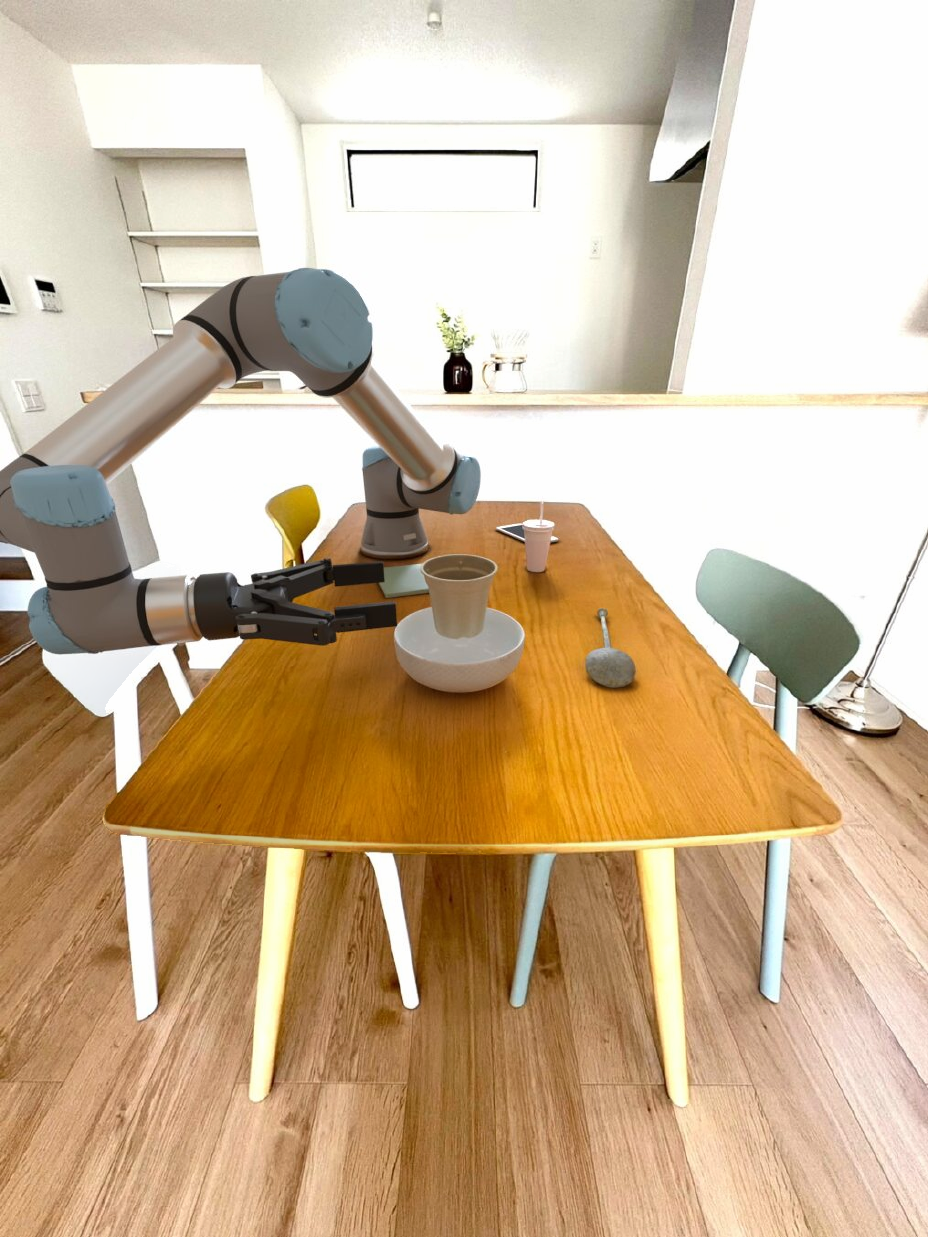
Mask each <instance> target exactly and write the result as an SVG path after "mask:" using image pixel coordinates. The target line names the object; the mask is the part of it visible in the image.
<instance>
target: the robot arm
mask: <svg viewBox="0 0 928 1237" xmlns="http://www.w3.org/2000/svg"><path fill="white" fill-rule="evenodd" d="M369 316H370V311H369V308H368V305H367V303H366V301H365V299H364V297H363V295H362V294H361V292H360V291H359V290H358V288H357V287H356V286H355V285H354V283H352V282H351V280H349V279H348V278H347V277H345V276H344V275H343V274H341V273H339V272H337V271H335V270H331V269H327V268H326V269H325V268H313V267H300V268H298V269H293V270H291V271H284V272H275V273H267V274H259V275H250V276H243V277H240V278H238V279H236V280H233V281H232V282H230V283H228V284H226V285H224V286H223V287H221V288H220V289H219V290H217V291H215V292H214V293H213V294H211V295H210V296H209V297H207V298H206V299H205V300H203V301H202V302H201V303H200V304H198V305H197V306H196V307H194V309H192V310H191V311H190V312H188V313H187V314H186V315H184V316H183V317H182V318H180V319H179V320H178V321H176V322H175V323H174V325H173V327H172V338H170V339H169V340H168V341H166V342H165V343H164V344H163V345H162V346H160V347H158V349H156V350H155V351H154V352H152V353H151V354H150V355H149V356H147V357H145V359H144V360H142V361H141V362H139V363H138V364H137V365H136V366H134V367H133V368H132V369H131V370H129V371H128V372H126V374H124V375H123V376H122V377H120V378H119V379H117V380H116V381H115V382H114V383H113V384H111V385H110V386H109V387H107V388H106V389H105V390H103V391H102V392H101V393H100V394H98V395H97V396H96V397H94V398H93V399H92V400H90V401H89V402H88V403H86V404H85V405H84V406H83V407H82V408H80V409H79V410H78V411H76V412H75V413H74V414H73V415H71V416H70V417H69V418H67V419H66V420H65V421H64V422H62V423H61V424H60V425H58V426H57V427H55V429H53V430H52V431H51V432H49V433H48V434H47V435H46V436H45V437H43V438H42V439H40V440H39V441H38V442H37V443H35V444H33V446H31V447H30V448H29V449H27V450H26V451H25V452H24V453H23V454H20V456H18V457H17V458H15V459H13V461H11V462H10V463H8V464H7V465H6V466H4V467H3V468H2V469H1V470H0V543H2V544H6V545H7V544H8V545H12V546H16V547H18V548H20V549H23V550H25V551H29V552H31V553H34V554H35V556H36V559H37V561H38V564H39V566H40V569H41V571H42V574H43V576H44V581H45V583H46V586H43V587H40V588H39V589H37V590H35V591H34V592H33V594H32V595H31V597H30V599H29V602H28V605H27V610H26V612H27V615H28V617H29V623H28V628H29V631H30V633H31V636H32V638H33V639H34V641H35V642H36V644H37V645H38V646H39V647H40V648H41V649H43V650H44V651H45V652H48V653H50V654H52V655H53V654H54V655H77V654H90V655H97V654H99V653H100V654H101V653H104V652H113V651H121V650H127V649H128V650H129V649H135V648H136V649H137V648H146V647H153V646H155V647H158V646H167V645H177V646H179V647H181V646H185V645H186V644H187V643H194V642H196V643H197V642H200V641H201V640H202V639H203V638H204V639H205V640H207V641H219V640H229V639H237V638H239V639H240V640H246V641H247V640H270V641H278V642H285V643H286V642H287V643H295V644H303V645H312V646H323V647H324V646H328V645H330V644H335V643H336V642H337V641H338V636H337V634H339V633H349V632H359V631H367V630H368V631H369V630H377V629H387V628H396V627H397V625H398V617H397V616H398V615H397V614H398V613H397V603H396V601H395V600H394V601H385V602H384V601H383V602H374V603H373V602H372V603H364V604H353V605H352V604H351V605H344V606H334V607H333V608H334V609H333V611H334V612H333V611H330V610H325V609H321V608H316V607H312V606H307V605H305V604H300V603H296V602H294V599H296V598H299V597H301V596H303V595H307V594H309V593H311V592H314V591H317V590H319V589H321V588H324V587H326V586H330V585H332V584H334V587H335V588H336V587H348V586H358V585H368V584H379V583H382V582H385V579H384V568H385V567H384V560H404V559H410V558H415V557H417V556H421V555H423V554H424V553H426V552H427V551H428V550H429V540H428V537H427V534H426V531H425V528H424V525H423V523H422V520H421V517H420V510H424V511H425V510H426V511H432V512H438V513H443V514H445V513H446V514H448V515H465V514H467V513H468V512H469V511H471V510H472V509H473V508H474V505H475V503H476V502H477V499H478V496H479V492H480V487H481V480H482V479H481V478H482V473H481V466H480V463H479V461H478V459H477V458H476V457H475V456H472V455H469V454H468V453H467V454H460V453H458V452H457V450H456V449H455V448H454V447H453V445H452V444H451V442H449V441H448V440H447V439H446V438H444V437H441V436H435V434H433V432H432V431H431V430H430V429H429V427H428V426H427V424H426V423H425V422H424V420H422V419H421V417H420V416H419V415H418V413H417V412H416V411H415V410H414V408H413V407H412V406H411V404H410V403H409V402H408V400H407V399H406V398H405V396H404V395H403V394H402V393H401V392H400V390H399V389H398V388H397V386H396V384H394V382H393V381H392V380H391V378H389V376H388V375H387V373H386V372H385V371H384V370H383V369H382V367H381V365H380V364H379V363H378V362H377V360H376V359H375V358H374V352H375V350H374V347H375V346H374V341H373V339H374V332H373V331H374V330H373V322H371V321H369V319H368V318H369ZM265 371H266V372H290V373H292V374H294V375H295V376H296V377H297V378H298V380H300V381H301V382H302V383H303V384H304V385H305V386H306V387H307V388H308V390H310V391H311V392H312V393H313V394H315V395H316V396H317V397H320V398H324V399H330V398H332V399H333V400H334V401H335V402H336V403H337V405H339V406H340V407H341V408H342V409H343V410H344V411H345V413H347V414H348V416H349V417H350V418H351V419H352V420H353V421H355V423H356V424H357V425H358V426H359V427H360V428H361V429H362V430H363V431H364V432H365V433H366V434H367V435H368V437H370V439H372V440H373V441H374V443H376V444H377V445H378V446H371V447H368V448H366V449H365V450H364V451H363V453H362V467H361V471H362V480H363V487H364V488H363V489H364V490H363V491H364V502H365V510H366V511H365V512H366V518H365V519H366V520H365V524H364V526H363V532H362V536H361V540H360V548H361V549H360V550H361V553H362V554H363V555H364V556H368V557H370V558H374V559H378V560H379V559H380V560H381V561H368V562H367V561H366V562H356V563H343V564H332V562H333V561H332V558H330V557H327V558H323V559H319V560H316V561H311V562H307V563H302V564H297V565H293V566H289V567H285V568H281V569H276V570H271V571H266V572H255V573H252V574H250V580H251V583H248V584H244V585H241V584H240V583H239V582H238V579H237V576H235V574H233V573H232V572H229V571H226V572H215V573H214V572H213V573H202V574H199V576H197V577H195V576H194V575H192V574H183V575H172V576H170V575H169V576H161V577H150V578H149V577H148V578H135V576H134V573H133V569H132V565H131V562H130V560H129V557H128V553H127V549H126V545H125V541H124V538H123V534H122V531H121V526H120V523H119V519H118V516H117V512H116V503H115V501H114V499H113V497H112V496H111V494H110V491H109V489H108V486H107V485H109V484H110V483H111V482H112V481H113V480H114V479H115V478H116V477H118V476H119V475H120V474H121V473H123V472H124V471H125V470H126V469H127V468H128V467H129V466H130V465H132V463H134V462H135V461H136V460H137V459H138V458H140V456H142V455H143V454H144V453H145V452H146V451H148V449H150V448H151V447H152V446H153V445H154V444H156V443H157V442H158V441H159V440H160V439H161V438H162V437H163V436H165V435H166V434H167V433H168V432H169V431H170V430H172V429H173V428H174V427H175V426H176V425H178V423H180V421H182V420H183V419H184V418H185V417H186V416H187V415H189V414H190V413H191V412H192V411H193V410H194V409H195V408H196V407H198V406H199V405H201V403H202V402H203V401H205V400H206V399H207V398H208V397H209V396H210V395H211V394H212V393H214V392H215V391H216V390H218V388H220V389H225V390H227V389H230V388H232V387H233V386H234V385H236V384H237V383H238V382H239V381H240V380H242V379H243V378H245V377H247V376H250V375H253V374H257V373H262V372H265Z"/></svg>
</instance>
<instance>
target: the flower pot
mask: <svg viewBox="0 0 928 1237" xmlns="http://www.w3.org/2000/svg"><path fill="white" fill-rule="evenodd" d="M421 564H422V565H421V567H420V571H421V573H422V574H423V575H424V578H425V582H426V584H427V585H428V589H429V593H428V594H429V600H430V605H431V606H430V607H432V612H433V618H434V624H435V629H436V631H437V633H438V634H440V635H441V636H444V637H447V638H450V639H459V638H462V637H466V638H472V637H475V636H477V635H479V634H480V633H481V632H482V631H483V627H484V620H485V613H486V608H488V602H489V601H488V600H489V596H490V589H491V586H492V584H493V582H494V577H495V576H496V575H497V573H498V571H499V570H498V569H499V567H498V566H499V565H498V564H497V563H496V562H495V561H493V560H492V559H489V558H487V557H484V556H481V555H474V554H465V553H455V554H454V553H453V554H452V553H451V554H443V555H438V556H434V557H431V558H429V559H426V560H425V561H423V562H422V563H421Z"/></svg>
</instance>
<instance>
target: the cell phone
mask: <svg viewBox="0 0 928 1237" xmlns="http://www.w3.org/2000/svg"><path fill="white" fill-rule="evenodd" d="M522 527H523V523H514V524H508V525H502V526H497V527H496V528H495V531H499V532H501V533H503V534H506V535H508V536H510V537H512V538H515V539H517V540H519V541H521V542H524V543H525V536H524V529H523V528H522ZM558 541H559V538H558V537H556V536H553V535H552V536H551V541H550V544H552V543H557V542H558Z"/></svg>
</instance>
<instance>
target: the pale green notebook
mask: <svg viewBox="0 0 928 1237" xmlns="http://www.w3.org/2000/svg"><path fill="white" fill-rule="evenodd" d="M422 564H423V563H417V564H415V563H414V564H407V565H396V566H389V567H384V579H385V582H382V583H378V584H379V587H380V589H381V591H382V593H383V595H384V597H385V598H386V599H390V598H397V597H406V596H415V595H421V594H429V589H428V585H427V584H426V582H425V578H424V575H423V574H422V573H421V571H420V567H421V565H422Z"/></svg>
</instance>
